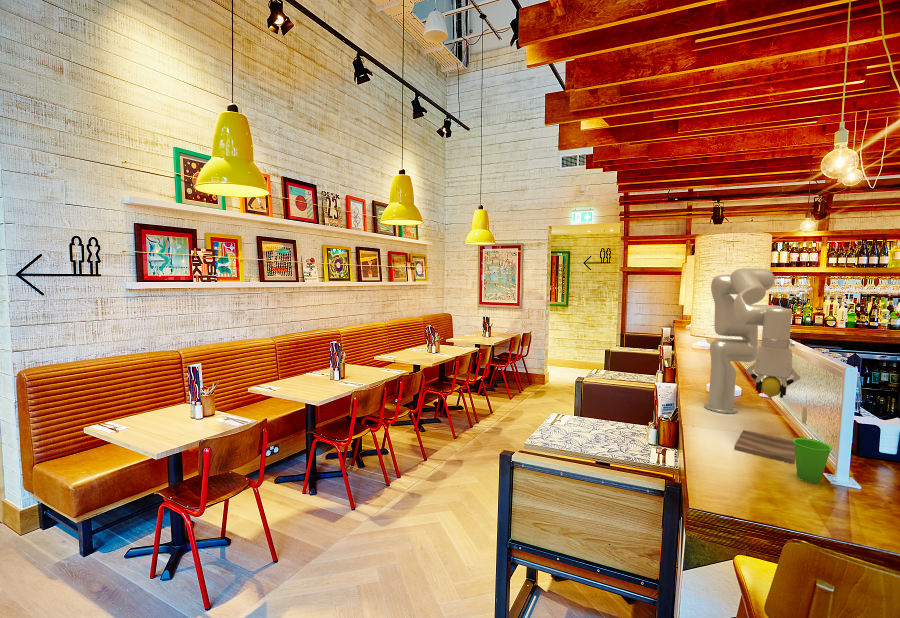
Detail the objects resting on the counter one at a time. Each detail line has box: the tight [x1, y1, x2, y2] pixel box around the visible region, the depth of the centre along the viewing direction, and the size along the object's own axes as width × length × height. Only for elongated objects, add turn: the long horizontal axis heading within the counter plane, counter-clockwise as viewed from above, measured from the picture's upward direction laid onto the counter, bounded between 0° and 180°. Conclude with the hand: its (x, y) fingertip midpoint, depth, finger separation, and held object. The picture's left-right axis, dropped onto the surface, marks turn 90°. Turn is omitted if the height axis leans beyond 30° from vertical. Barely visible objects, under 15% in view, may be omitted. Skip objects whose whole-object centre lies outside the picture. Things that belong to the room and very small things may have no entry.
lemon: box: [761, 376, 782, 399], centre depth 148 cm, size 6×6×8 cm
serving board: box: [734, 429, 796, 465], centre depth 149 cm, size 20×16×2 cm
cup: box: [791, 437, 833, 484], centre depth 126 cm, size 9×9×11 cm
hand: (770, 394), depth 148 cm, fingers closed on lemon, 5 cm apart
